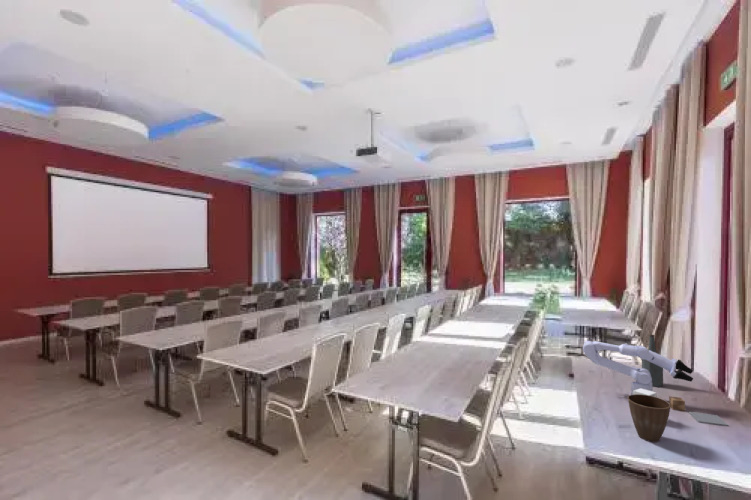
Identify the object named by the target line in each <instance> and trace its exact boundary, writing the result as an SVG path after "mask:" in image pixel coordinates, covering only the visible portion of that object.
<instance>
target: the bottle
mask: <svg viewBox="0 0 751 500" xmlns="http://www.w3.org/2000/svg"><path fill="white" fill-rule="evenodd" d="M648 339H649V341H648V348H647V349H648V351H649V350H650V351H652V352H655V353H657V354H659V353H658V351H657V348H656V342H655V335H654V334H652V333H651V334H649V338H648ZM641 368H644V369H647V370H648V371H649V372H650V374H651V378H652V387H653V388H660V387H663V386H664V368H662V367H660V366H657V365H655V364H653V363H651V362H649V361H648V360H646V359H641Z"/></svg>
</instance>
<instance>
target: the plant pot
mask: <svg viewBox="0 0 751 500" xmlns="http://www.w3.org/2000/svg"><path fill="white" fill-rule="evenodd" d="M627 400H628V401H627V402H628V407H629V411H630V415H631V419H632V422H633V426H634V428H635V430H636V434H637V435H638V437H640V439H643V440H644V441H647V442H652V443H658V442H659V441H660V440H661V438H662V437H663V435H664V433H665V430H666V428H667V424H668V420H669V416H670V412H671V407H670V406H671V405H670V404H669V401H667V400H665V399H662V398H659V397H653V396H648V395H640V394H634V395H631V394H630V395H628V396H627Z"/></svg>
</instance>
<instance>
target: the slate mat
mask: <svg viewBox="0 0 751 500" xmlns="http://www.w3.org/2000/svg"><path fill="white" fill-rule="evenodd" d="M688 413H689V415H691V417H692V418H693V419H694V420H695V421H696V422H697V423H700V424H708V425H716V426H722V427H723V426H725V427H729V424H728V423H727V422H726V421H724V420H723V419H722V418H721V417H720V416H719V415H717V414H710V413H704V412H703V413H702V412H694V411H689V412H688Z"/></svg>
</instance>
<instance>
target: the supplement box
mask: <svg viewBox="0 0 751 500" xmlns="http://www.w3.org/2000/svg"><path fill="white" fill-rule="evenodd" d="M634 394H640V395H648V396H653V397H657V394H658V392H655V391H649V390H645V389H642V388H640V389H637V390H634V391H633V395H634ZM657 398H658V397H657Z"/></svg>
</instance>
